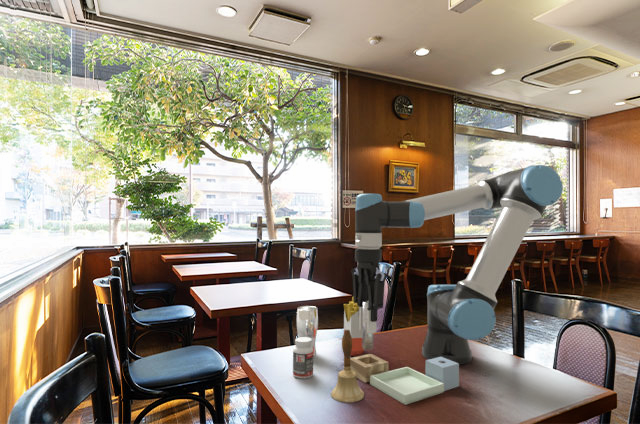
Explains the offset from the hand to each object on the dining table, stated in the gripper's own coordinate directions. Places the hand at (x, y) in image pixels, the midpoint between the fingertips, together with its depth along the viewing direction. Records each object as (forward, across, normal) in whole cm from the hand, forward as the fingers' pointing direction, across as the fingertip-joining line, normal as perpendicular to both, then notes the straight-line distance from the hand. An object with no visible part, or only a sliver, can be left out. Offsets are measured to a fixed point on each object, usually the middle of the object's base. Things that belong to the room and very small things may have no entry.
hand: (367, 330), depth 107 cm
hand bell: (+13, +8, -12) cm, 19 cm away
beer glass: (+13, -23, -7) cm, 27 cm away
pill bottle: (+13, -9, -16) cm, 22 cm away
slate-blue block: (+12, +15, +13) cm, 23 cm away
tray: (+12, +12, +3) cm, 17 cm away
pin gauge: (+5, 0, 0) cm, 5 cm away
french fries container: (+12, -17, +7) cm, 22 cm away
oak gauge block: (+12, 0, 0) cm, 12 cm away
